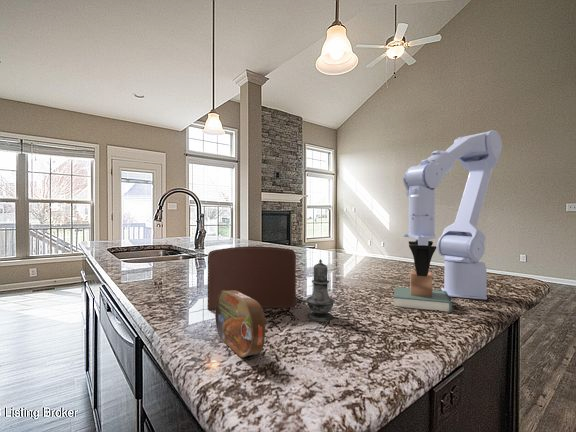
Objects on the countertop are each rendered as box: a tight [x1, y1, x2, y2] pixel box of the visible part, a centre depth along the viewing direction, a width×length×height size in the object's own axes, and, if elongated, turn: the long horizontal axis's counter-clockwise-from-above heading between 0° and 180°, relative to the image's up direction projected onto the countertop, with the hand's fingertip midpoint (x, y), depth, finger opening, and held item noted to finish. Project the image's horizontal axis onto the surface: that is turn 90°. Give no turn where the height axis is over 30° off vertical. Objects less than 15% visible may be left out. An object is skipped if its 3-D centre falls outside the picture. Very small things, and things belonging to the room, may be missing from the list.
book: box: [393, 286, 453, 313], centre depth 74 cm, size 12×10×2 cm
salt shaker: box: [305, 259, 335, 323], centre depth 64 cm, size 6×6×12 cm
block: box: [409, 270, 433, 297], centre depth 74 cm, size 4×4×5 cm
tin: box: [214, 290, 267, 358], centre depth 51 cm, size 15×3×8 cm, turn 32°
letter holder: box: [207, 245, 297, 311], centre depth 74 cm, size 10×20×14 cm, turn 96°
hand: (421, 272), depth 74 cm, fingers open, 7 cm apart
